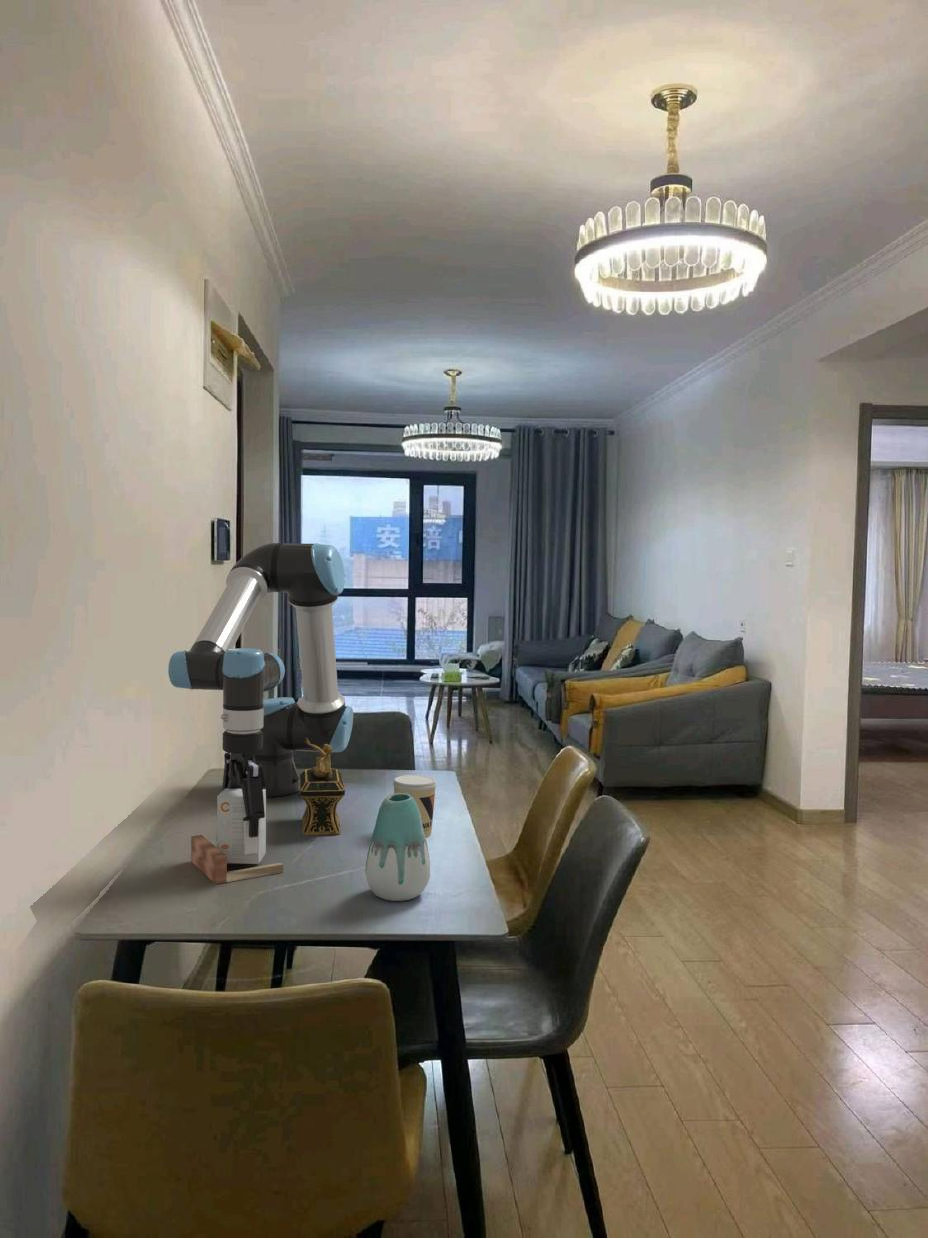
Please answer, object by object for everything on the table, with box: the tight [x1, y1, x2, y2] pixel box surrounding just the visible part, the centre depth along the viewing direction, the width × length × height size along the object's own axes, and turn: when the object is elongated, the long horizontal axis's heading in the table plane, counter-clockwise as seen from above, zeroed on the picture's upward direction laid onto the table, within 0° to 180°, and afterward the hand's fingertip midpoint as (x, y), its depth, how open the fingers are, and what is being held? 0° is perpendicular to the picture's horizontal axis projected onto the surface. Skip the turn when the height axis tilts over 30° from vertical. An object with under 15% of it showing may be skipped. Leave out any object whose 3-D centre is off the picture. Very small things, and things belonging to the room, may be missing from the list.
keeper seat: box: [190, 834, 284, 885], centre depth 178 cm, size 14×13×5 cm
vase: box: [364, 793, 431, 902], centre depth 165 cm, size 12×12×18 cm
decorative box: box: [299, 738, 346, 837], centre depth 203 cm, size 20×10×20 cm, turn 10°
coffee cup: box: [392, 774, 437, 839], centre depth 202 cm, size 9×9×12 cm
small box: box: [216, 788, 267, 865], centre depth 178 cm, size 8×6×13 cm
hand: (241, 845), depth 178 cm, fingers closed on small box, 9 cm apart
